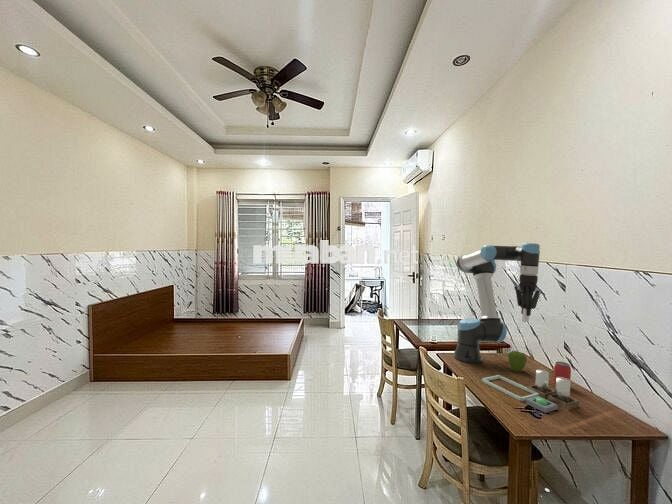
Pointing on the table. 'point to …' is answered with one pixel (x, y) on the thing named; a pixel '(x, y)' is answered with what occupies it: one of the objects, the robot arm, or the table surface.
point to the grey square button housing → (545, 409)
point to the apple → (517, 360)
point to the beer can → (562, 371)
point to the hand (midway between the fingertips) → (525, 321)
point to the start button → (541, 401)
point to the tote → (486, 380)
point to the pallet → (551, 397)
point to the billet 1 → (542, 380)
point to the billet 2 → (562, 389)
